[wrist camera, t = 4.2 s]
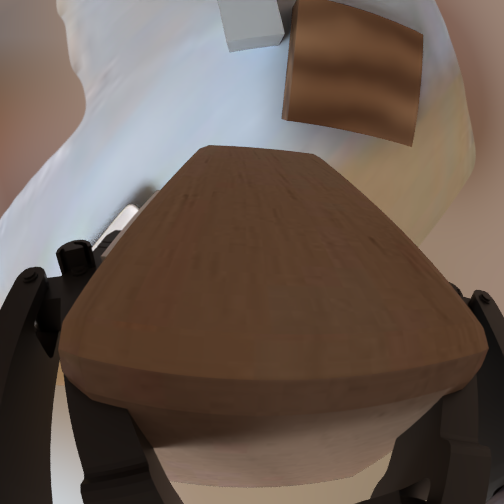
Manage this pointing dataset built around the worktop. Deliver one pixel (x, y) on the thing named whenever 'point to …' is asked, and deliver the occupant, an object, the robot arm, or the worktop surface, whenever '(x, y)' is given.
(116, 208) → the worktop surface
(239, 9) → the slate cube
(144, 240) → the block
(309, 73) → the plinth
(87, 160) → the worktop surface
